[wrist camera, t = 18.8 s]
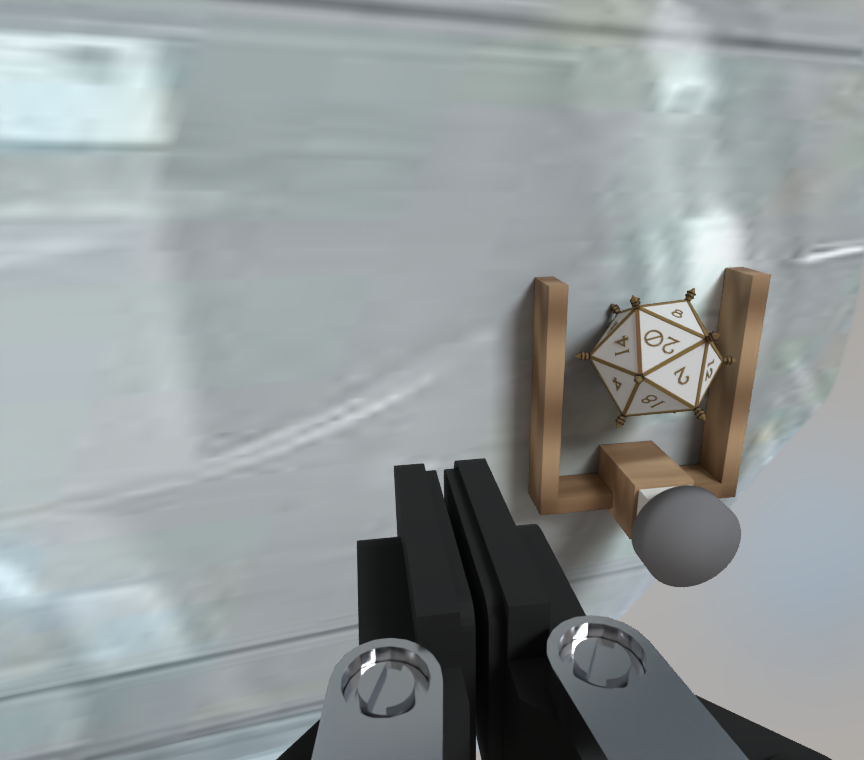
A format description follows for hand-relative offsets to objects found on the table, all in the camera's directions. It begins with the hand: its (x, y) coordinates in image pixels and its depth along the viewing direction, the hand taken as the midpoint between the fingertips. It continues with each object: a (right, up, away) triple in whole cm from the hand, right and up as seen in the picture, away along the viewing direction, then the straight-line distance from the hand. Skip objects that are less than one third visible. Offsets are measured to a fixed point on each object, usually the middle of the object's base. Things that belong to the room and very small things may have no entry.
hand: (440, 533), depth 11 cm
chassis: (+14, +2, +32) cm, 35 cm away
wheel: (+15, -6, +29) cm, 33 cm away
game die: (+13, +6, +31) cm, 34 cm away
